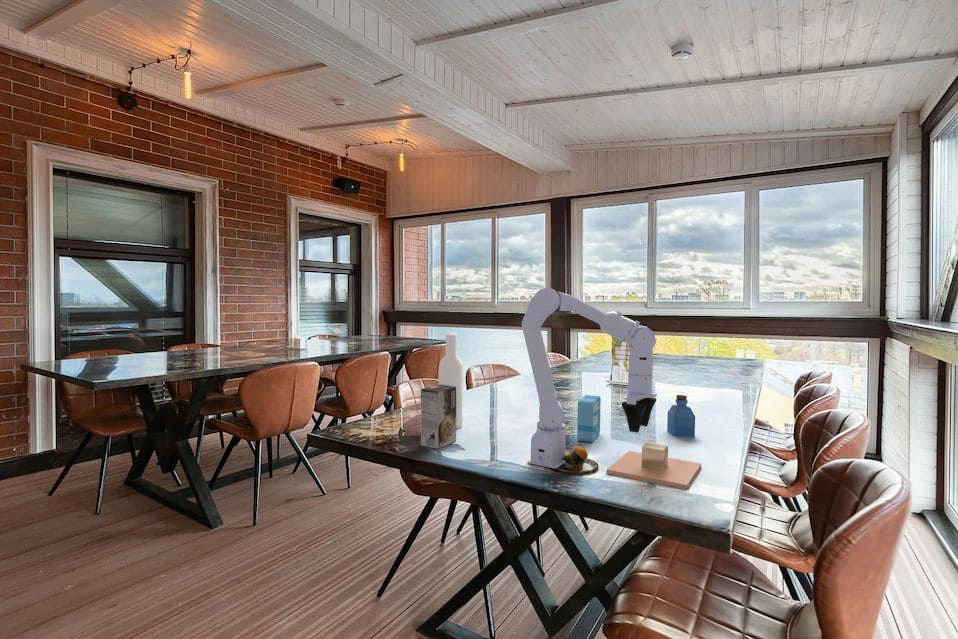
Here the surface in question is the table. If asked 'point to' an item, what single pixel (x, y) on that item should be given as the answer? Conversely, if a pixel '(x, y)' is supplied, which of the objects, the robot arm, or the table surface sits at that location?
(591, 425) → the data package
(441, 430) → the coffee box
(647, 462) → the birch cube
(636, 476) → the terracotta tile
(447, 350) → the bottle
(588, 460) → the burger
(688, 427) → the perfume bottle
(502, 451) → the table surface
